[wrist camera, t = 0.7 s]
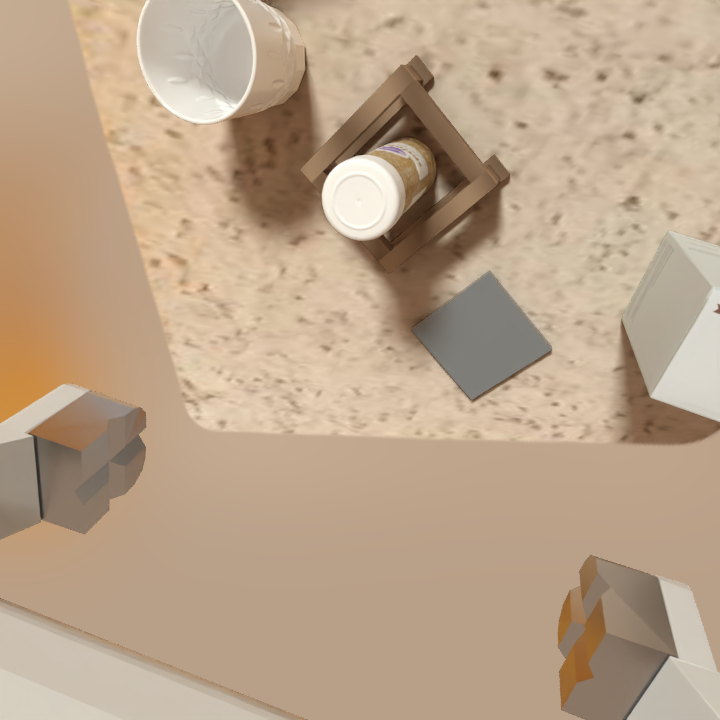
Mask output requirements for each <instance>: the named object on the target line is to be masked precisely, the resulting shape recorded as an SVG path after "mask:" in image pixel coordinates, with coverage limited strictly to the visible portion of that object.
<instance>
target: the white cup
mask: <svg viewBox="0 0 720 720" xmlns="http://www.w3.org/2000/svg"><path fill="white" fill-rule="evenodd" d="M137 53H138V59H139V63H140V67H141V70H142V73H143V76H144V78H145V80H146V83H147V85H148V86H149V88H150V90H151V92H152V93H153V95H154V96H155V97H156V99H157V100H158V101H159V102H160V103H161V104H162V105H163V106H164V107H165V108H166V109H167V110H168V111H169V112H171V113H172V114H173V115H175V116H177V117H178V118H180V119H182V120H184V121H187V122H190V123H194V124H201V125H207V124H214V123H218V122H222V121H226V120H230V119H235V118H239V117H242V116H247V115H251V114H255V113H257V112H261V111H264V110H266V109H268V108H269V107H272V106H276V105H280V104H283V103H285V102H286V101H287V100H288V99H289V98H290V97H291V96H292V95H293V94H294V93H295V92H296V91H297V90H298V88H299V85H300V82H301V80H302V77H303V74H304V72H305V47H304V44H303V42H302V39H301V37H300V35H299V32H298V30H297V28H296V26H295V24H294V23H293V22H292V21H291V20H289V19H288V18H287V17H286V16H285V15H284V14H283V13H282V12H281V11H280V10H278V9H276V8H273V7H271V6H268V5H267V4H265V3H264V2H262V1H260V0H147V1H146V3H145V5H144V7H143V9H142V12H141V15H140V18H139V23H138V28H137Z"/></svg>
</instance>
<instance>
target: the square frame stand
mask: <svg viewBox="0 0 720 720" xmlns="http://www.w3.org/2000/svg"><path fill="white" fill-rule="evenodd" d="M433 77H434V76H433V75H432V74H431V72H430V71H429V70H428V69H427V67H426V66H425V65H424V63H423V62H422V61H421V60H420V58H419V57H418V56H415V57H414V58H413V59H412V60H411V61H410V62H409V63H408V64H407V65H401V66H400V67H399V68H398V69H397V70H396V71H395V72H394V73H393V74H392V75H391V76H390V77H389V78H388V79H387V80H386V81H385V82H384V83H383V84H382V85H381V86H380V87H379V88H378V89H377V90H376V91H375V93H374V94H373V95H372V96H371V97H370V98H369V99H368V100H367V101H366V102H365V103H364V104H363V105H362V106H361V107H360V108H359V109H358V110H357V111H356V112H355V113H354V114H353V115H352V116H351V117H350V118H349V119H348V120H347V122H346V123H345V124H344V125H343V126H342V127H341V128H340V129H339V130H338V131H337V132H336V133H335V134H334V135H333V136H332V137H331V138H330V139H329V140H328V141H327V142H326V143H325V144H324V145H323V146H322V147H321V148H320V150H319V151H318V152H317V153H316V154H315V155H314V156H313V157H312V158H311V159H310V160H309V161H308V162H307V163H306V164H305V165H304V166H303V167H302V168H301V169H300V170H301V171H302V172H303V174H304V175H305V176H306V177H307V178H308V179H309V181H310V182H311V183H312V184H313V185H314V186H315V188H316V189H317V190H318V191H319V192H320V194H321V195H322V190H323V186H324V183H325V180H326V178H327V176H328V175H329V174H330V172H331V171H332V170H333V169H334V168H335V167H336V166H337V165H339V164H340V163H342V162H344V161H345V160H347V159H350V158H352V157H353V156H354V155H355V154H356V153H357V152H358V151H359V150H360V149H361V148H362V147H363V146H364V145H365V144H366V143H367V142H368V141H370V140H371V139H372V138H373V137H374V136H375V135H376V134H377V133H378V132H379V131H380V130H381V129H382V128H383V127H384V126H385V125H386V124H387V123H388V122H389V121H390V120H391V119H392V118H393V117H394V116H395V115H396V114H397V113H398V112H399V111H400V110H401V109H402V108H403V107H404V106H405V105H406V104H408V105H409V106H410V108H411V109H412V110H413V111H414V113H415V114H416V115H417V116H418V118H419V119H420V120H421V121H422V123H423V124H424V125H425V126H426V128H427V129H428V130H429V131H430V133H431V134H432V135H433V136H434V138H435V139H436V140H437V141H438V143H439V144H440V145H441V146H442V148H443V149H444V150H445V151H446V153H447V154H448V155H449V156H450V158H451V159H452V160H453V161H454V163H455V164H456V165H457V166H458V168H459V169H460V170H461V171H462V173H463V174H464V175H465V176H466V179H465V180H463V181H462V182H461V183H460V184H459V185H458V186H456V187H455V188H454V189H453V190H452V191H451V192H449V193H448V194H447V195H446V196H445V197H443V198H442V199H441V200H440V201H439V202H438V203H436V204H435V205H434V206H433V207H432V208H431V209H429V210H428V211H427V212H426V213H425V214H424V215H422V216H421V217H420V218H419V219H418V220H417V221H415V222H414V223H413V224H412V225H411V226H409V227H408V228H407V229H406V230H405V231H404V232H402V233H401V234H400V235H399V236H398V237H397V238H395V239H394V240H393V241H392V242H391V243H390V242H389V241H388V240H387V239H386V237H385V236H384V235H381V236H380V237H378V238H375V239H372V240H367V241H361V242H362V243H363V244H364V245H365V246H366V248H367V249H368V250H369V251H370V252H371V253H372V255H373V256H374V257H375V258H376V259H377V261H378V262H379V263H380V264H381V265H382V266H383V268H384V269H385V270H386V271H387V272H388V273H391V272H392V271H393V270H394V269H395V268H397V267H398V266H399V265H400V264H402V263H403V262H404V261H405V260H407V259H408V258H409V257H410V256H411V255H413V254H414V253H415V252H416V251H418V250H419V249H420V248H421V247H422V246H424V245H425V244H426V243H427V242H429V241H430V240H431V239H432V238H433V237H435V236H436V235H437V234H438V233H439V232H441V231H442V230H443V229H444V228H446V227H447V226H448V225H449V224H450V223H452V222H453V221H454V220H455V219H457V218H458V217H459V216H460V215H461V214H463V213H464V212H465V211H466V210H468V209H469V208H470V207H471V206H472V205H474V204H475V203H476V202H477V201H479V200H480V199H481V198H482V197H483V196H485V195H486V194H487V193H488V192H490V191H491V190H492V189H493V188H494V187H496V186H497V185H498V184H499V183H500V182H502V181H503V180H504V179H505V178H507V177H508V176H509V175H510V173H509V172H508V171H507V170H506V168H505V167H504V166H503V164H502V163H501V162H500V161H499V159H498V158H497V157H496V155H495V154H494V155H493V156H492V157H490V158H489V159H488V160H487V161H486V162H485V163H482V162H481V161H480V159H479V158H478V157H477V156H476V154H475V153H474V152H473V150H472V149H471V148H470V147H469V145H468V144H467V143H466V142H465V140H464V139H463V138H462V136H461V135H460V134H459V133H458V131H457V130H456V129H455V128H454V126H453V125H452V124H451V123H450V121H449V120H448V119H447V117H446V116H445V115H444V114H443V112H442V111H441V110H440V109H439V107H438V106H437V105H436V104H435V102H434V101H433V100H432V98H431V97H430V96H429V95H428V93H427V92H426V91H425V90H424V88H423V87H424V86H425V85H426V84H427V83H428V82H429V81H430V80H431V79H432V78H433Z"/></svg>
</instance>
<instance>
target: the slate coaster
mask: <svg viewBox="0 0 720 720" xmlns="http://www.w3.org/2000/svg"><path fill="white" fill-rule="evenodd" d="M411 331H412V332H413V333H414V334H415V335H416V336H417V338H418V339H419V340H420V341H421V342H422V343H423V345H424V346H425V347H426V348H427V349H428V350H429V352H430V353H431V354H432V355H433V356H434V357H435V359H436V360H437V361H438V362H439V363H440V364H441V365H442V367H443V368H444V369H445V370H446V371H447V372H448V374H449V375H450V376H451V377H452V378H453V379H454V381H455V382H456V383H457V384H458V385H459V386H460V388H461V389H462V390H463V391H464V392H465V393H466V395H467V396H468V397H469V398H470V399H471V400H472V399H474V398H476V397H477V396H479V395H480V394H482V393H484V392H485V391H487V390H488V389H490V388H492V387H493V386H495V385H496V384H498V383H500V382H501V381H503V380H504V379H506V378H508V377H509V376H511V375H512V374H514V373H516V372H517V371H519V370H521V369H522V368H524V367H525V366H527V365H529V364H530V363H532V362H533V361H535V360H537V359H538V358H540V357H541V356H543V355H545V354H546V353H548V352H549V351H551V350H552V347H551V345H550V344H549V343H548V342H547V340H546V339H545V338H544V337H543V335H542V334H541V333H540V332H539V331H538V329H537V328H536V327H535V326H534V324H533V323H532V322H531V321H530V320H529V318H528V317H527V316H526V315H525V313H524V312H523V311H522V310H521V309H520V307H519V306H518V305H517V304H516V302H515V301H514V300H513V299H512V297H511V296H510V295H509V294H508V293H507V291H506V290H505V289H504V288H503V286H502V285H501V284H500V283H499V282H498V280H497V279H496V278H495V277H494V275H493V274H492V273H491V272H490V271H488V272H487V273H485V274H484V275H483V276H481V277H480V278H479V279H477V280H476V281H475V282H473V283H472V284H471V285H469V286H468V287H467V288H465V289H464V290H463V291H461V292H460V293H458V294H457V295H456V296H454V297H453V298H452V299H450V300H449V301H448V302H446V303H445V304H444V305H442V306H441V307H440V308H438V309H437V310H436V311H434V312H433V313H431V314H430V315H429V316H427V317H426V318H425V319H423V320H422V321H421V322H419V323H418V324H417V325H415V326H414V327H413V328H412V330H411Z"/></svg>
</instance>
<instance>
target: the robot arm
mask: <svg viewBox="0 0 720 720" xmlns="http://www.w3.org/2000/svg"><path fill="white" fill-rule="evenodd" d="M145 428H146V412H145V411H144V410H143V409H142V408H141V407H138V406H135V405H133V404H130V403H127V402H124V401H121V400H118V399H116V398H113V397H110V396H107V395H104V394H101V393H98V392H96V391H92V390H89V389H86V388H83V387H80V386H78V385H74V384H63V385H61V386H60V387H58V388H56V389H55V390H53V391H52V392H50V393H48V394H47V395H45V396H44V397H42V398H40V399H39V400H37V401H36V402H34V403H33V404H31V405H29V406H28V407H26V408H25V409H23V410H21V411H20V412H18V413H17V414H15V415H14V416H12V417H10V418H9V419H7V420H6V421H4V422H2V423H1V424H0V539H3V538H5V537H7V536H10V535H12V534H15V533H17V532H19V531H22V530H24V529H26V528H28V527H31V526H33V525H36V524H38V523H40V522H41V520H44V521H47V522H50V523H53V524H56V525H59V526H62V527H65V528H68V529H71V530H73V531H76V532H79V533H82V534H86V533H87V531H89V530H90V529H91V528H92V527H93V525H94V524H95V523H97V522H98V521H99V520H100V519H101V518H102V516H104V515H105V514H106V513H107V512H108V511H109V499H112V498H115V497H118V496H121V495H124V494H126V492H127V491H128V490H129V489H130V488H131V487H132V486H133V485H134V484H135V482H136V480H137V479H138V477H139V475H140V473H141V471H142V469H143V465H144V461H145V454H146V447H145V445H144V443H143V442H142V440H141V438H140V436H139V434H140V433H141V432H142V431H143V430H144V429H145ZM579 573H580V584H581V586H578V587H576V588H574V589H572V590H570V591H569V593H568V595H567V598H566V600H565V602H564V604H563V607H562V611H561V615H560V619H559V626H558V648H559V649H560V651H561V652H562V654H563V655H564V657H565V658H566V660H565V662H564V664H563V665H562V667H561V669H560V671H559V677H560V695H561V710H562V711H565V712H568V713H570V714H572V715H575V716H577V717H580V718H583V719H585V720H720V673H718V670H717V667H716V664H715V661H714V658H713V655H712V652H711V649H710V646H709V643H708V640H707V637H706V634H705V630H704V628H703V624H702V621H701V618H700V615H699V612H698V609H697V606H696V603H695V600H694V597H693V594H692V591H691V589H690V588H689V587H688V586H687V585H686V584H684V583H681V582H677V581H674V580H671V579H667V578H664V577H661V576H657V575H651V574H648V573H645V572H642V571H639V570H636V569H633V568H630V567H626V566H623V565H620V564H617V563H614V562H611V561H608V560H604V559H602V558H598V557H595V556H592V555H590V556H589V557H588V558H587V559H586V561H585V562H584V564H583V566H582V567H581V569H580V571H579ZM0 720H307V719H304V718H302V717H299V716H297V715H294V714H291V713H289V712H286V711H284V710H281V709H279V708H276V707H274V706H271V705H269V704H266V703H264V702H261V701H259V700H256V699H254V698H251V697H249V696H246V695H244V694H241V693H239V692H236V691H234V690H231V689H228V688H226V687H223V686H221V685H218V684H216V683H213V682H211V681H208V680H206V679H203V678H201V677H198V676H195V675H193V674H191V673H188V672H186V671H183V670H181V669H178V668H176V667H173V666H171V665H168V664H165V663H163V662H160V661H158V660H155V659H153V658H150V657H148V656H145V655H143V654H140V653H138V652H135V651H133V650H130V649H128V648H125V647H123V646H120V645H118V644H115V643H113V642H110V641H108V640H105V639H102V638H100V637H97V636H95V635H92V634H90V633H87V632H85V631H82V630H80V629H77V628H75V627H72V626H70V625H67V624H65V623H62V622H60V621H57V620H55V619H52V618H50V617H47V616H44V615H42V614H39V613H37V612H34V611H32V610H29V609H27V608H24V607H22V606H19V605H17V604H14V603H12V602H9V601H7V600H4V599H2V598H0Z"/></svg>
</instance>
